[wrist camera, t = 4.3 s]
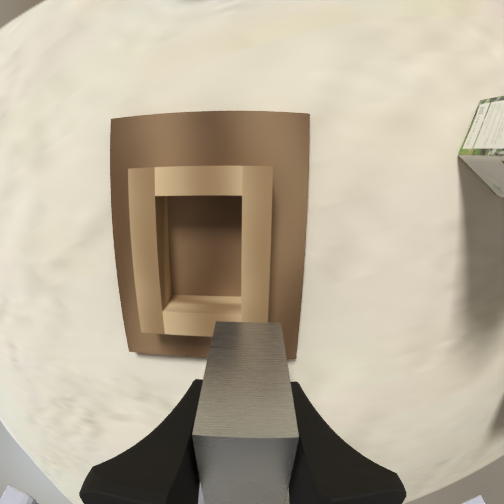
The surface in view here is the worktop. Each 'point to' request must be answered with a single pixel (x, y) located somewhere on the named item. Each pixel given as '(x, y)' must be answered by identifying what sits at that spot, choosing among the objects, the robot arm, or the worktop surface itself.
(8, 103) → the worktop surface
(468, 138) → the syrup box
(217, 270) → the slot block
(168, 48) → the worktop surface
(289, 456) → the brushed grey block
